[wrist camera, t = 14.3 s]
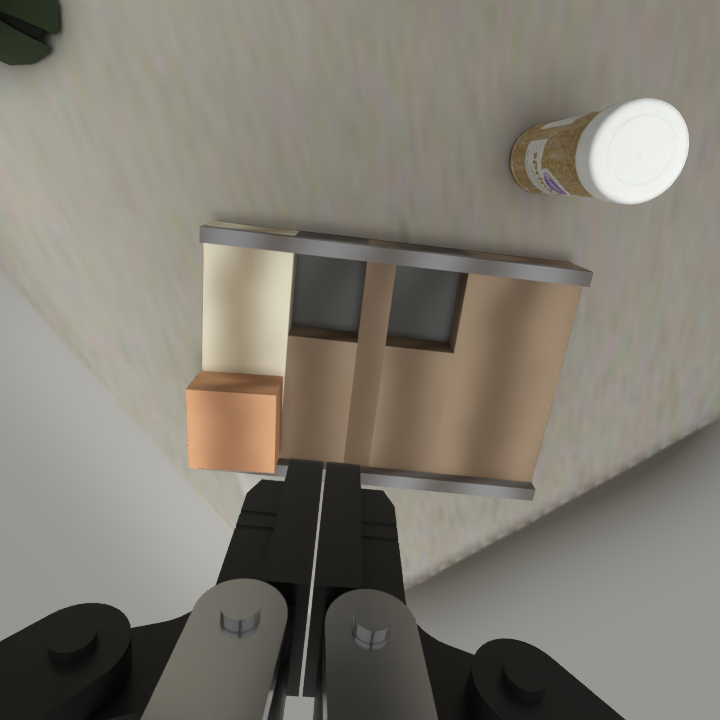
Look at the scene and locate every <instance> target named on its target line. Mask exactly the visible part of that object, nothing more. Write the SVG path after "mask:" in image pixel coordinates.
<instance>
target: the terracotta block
mask: <svg viewBox="0 0 720 720" xmlns="http://www.w3.org/2000/svg"><path fill="white" fill-rule="evenodd" d="M282 400H283V376H271V375H256V374H242V373H227V372H213V371H200V372H199V373H198V375H197V376H196V377H195V378H194V380H193V381H192V382H191V384H190V385H189V386H188V387H187V389H186V406H187V432H188V458H189V468H198V469H214V470H230V471H246V472H262V473H275V469H276V465H277V462H278V458H279V454H280V451H281V433H282Z"/></svg>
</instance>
